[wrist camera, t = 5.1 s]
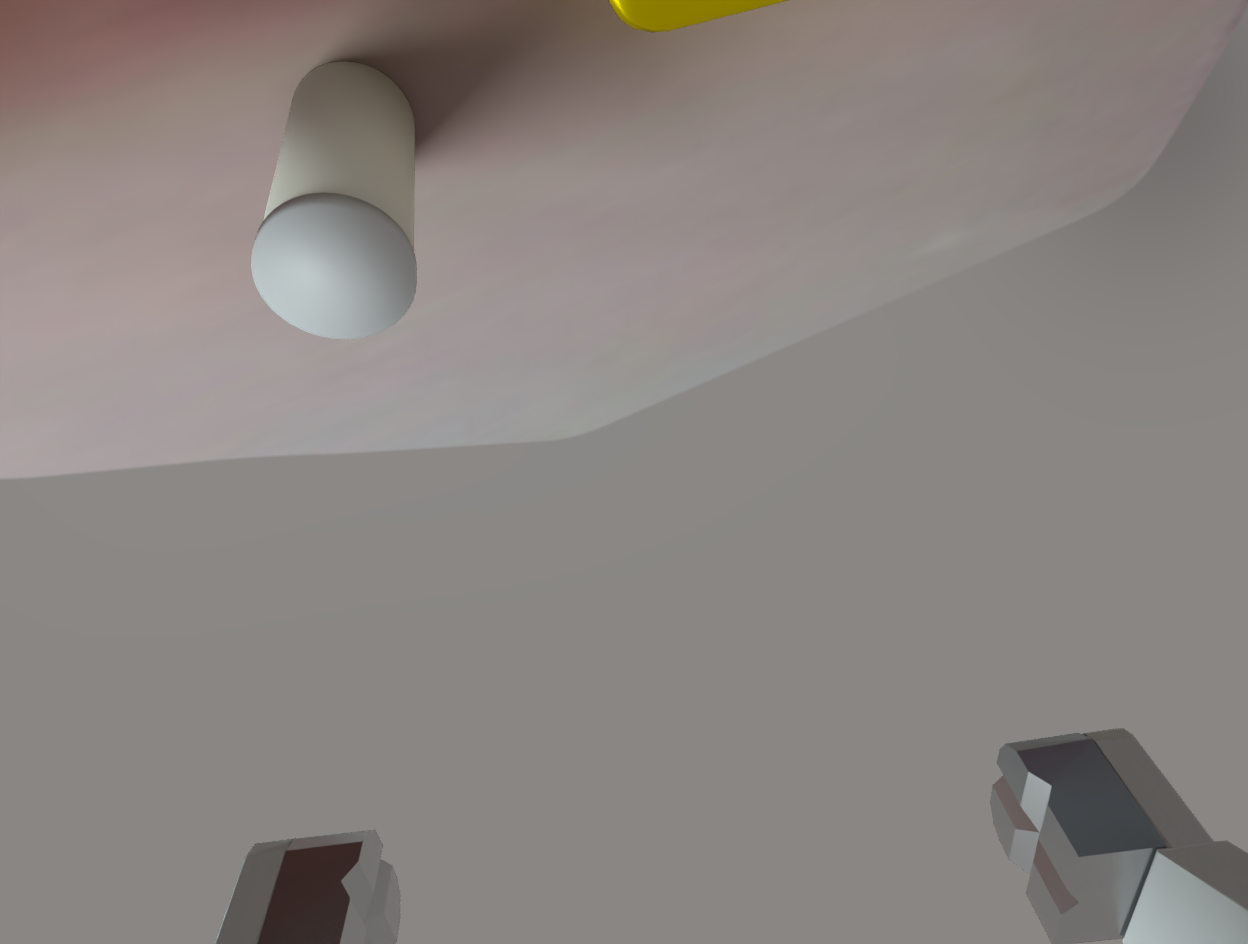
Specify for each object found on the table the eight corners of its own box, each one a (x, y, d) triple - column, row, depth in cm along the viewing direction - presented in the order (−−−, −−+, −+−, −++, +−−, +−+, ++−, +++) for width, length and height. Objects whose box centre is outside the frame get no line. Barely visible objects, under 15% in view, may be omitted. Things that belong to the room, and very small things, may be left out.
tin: (293, 172, 38) (259, 333, 30) (284, 48, 34) (243, 195, 26) (414, 186, 39) (413, 344, 31) (419, 69, 35) (419, 214, 27)
